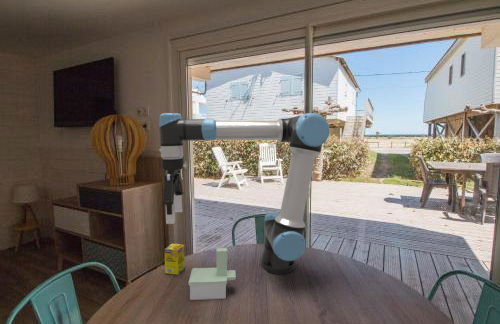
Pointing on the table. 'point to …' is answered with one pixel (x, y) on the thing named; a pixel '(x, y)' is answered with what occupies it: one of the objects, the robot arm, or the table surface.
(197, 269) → the lid
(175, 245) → the supplement box
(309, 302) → the table surface
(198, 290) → the tub
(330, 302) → the table surface
